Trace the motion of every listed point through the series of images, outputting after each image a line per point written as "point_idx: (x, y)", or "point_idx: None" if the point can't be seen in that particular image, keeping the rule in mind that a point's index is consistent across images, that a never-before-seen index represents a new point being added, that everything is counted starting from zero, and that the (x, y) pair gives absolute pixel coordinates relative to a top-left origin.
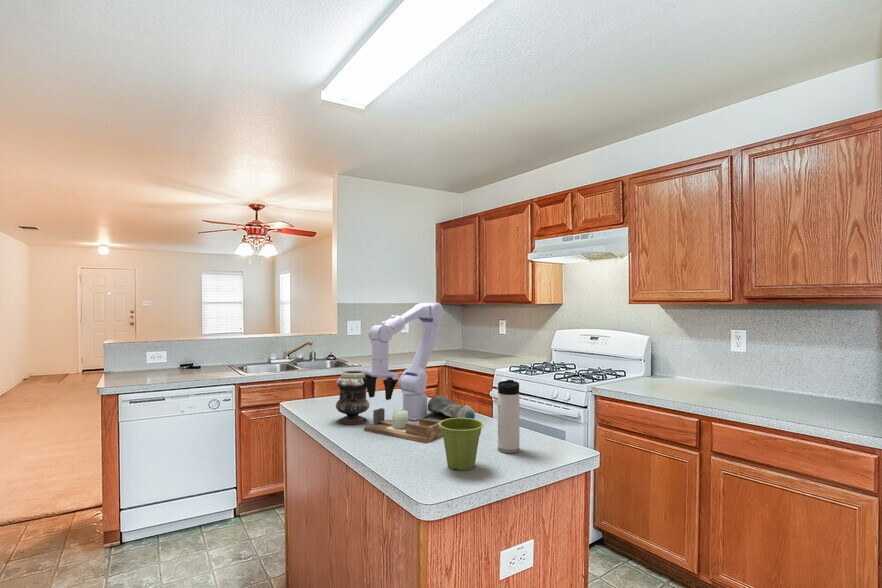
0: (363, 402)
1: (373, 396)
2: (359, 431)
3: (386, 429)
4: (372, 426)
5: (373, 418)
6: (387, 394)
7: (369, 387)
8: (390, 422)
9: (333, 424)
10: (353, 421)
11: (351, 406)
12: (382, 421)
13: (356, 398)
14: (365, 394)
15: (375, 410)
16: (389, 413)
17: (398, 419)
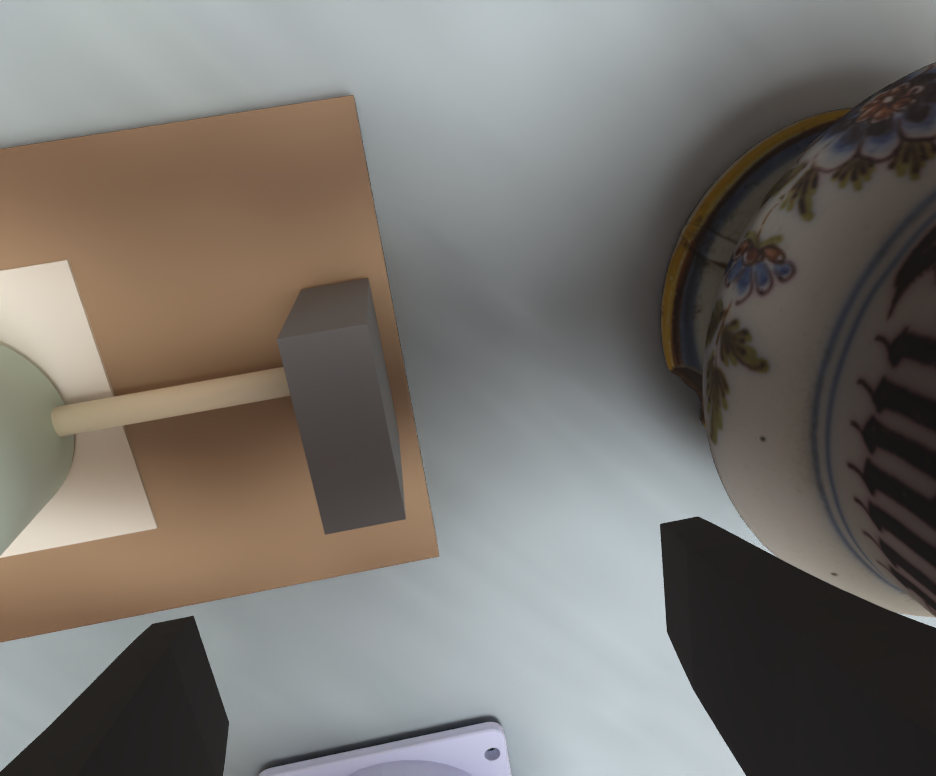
0: (797, 434)
1: (669, 613)
2: (374, 21)
3: (8, 234)
4: (292, 199)
5: (364, 292)
6: (62, 714)
7: (803, 661)
8: (125, 409)
9: (926, 7)
10: (735, 216)
11: (855, 160)
12: (271, 375)
13: (926, 311)
14: (924, 589)
15: (332, 347)
16: (709, 759)
17: None
